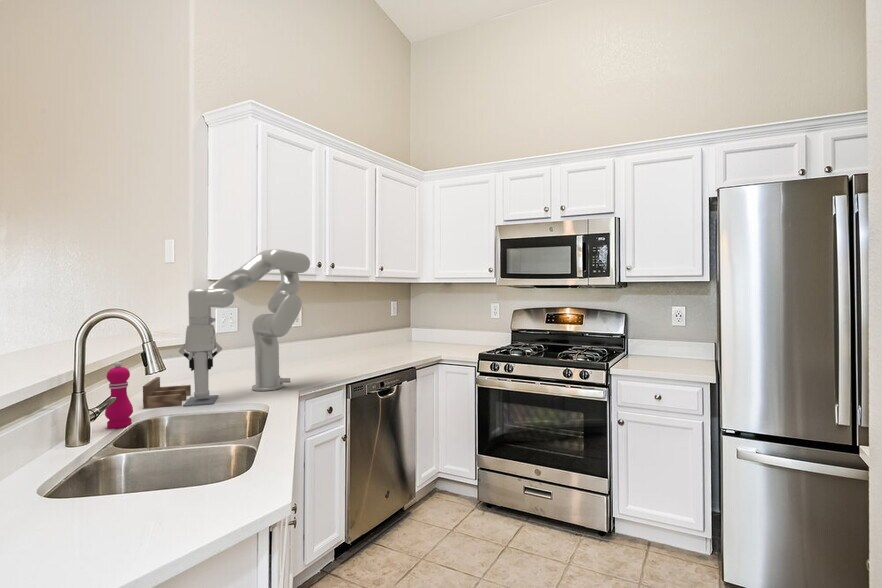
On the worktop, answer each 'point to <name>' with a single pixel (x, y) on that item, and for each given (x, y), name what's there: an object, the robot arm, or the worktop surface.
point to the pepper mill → (119, 398)
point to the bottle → (201, 374)
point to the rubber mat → (201, 401)
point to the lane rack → (164, 394)
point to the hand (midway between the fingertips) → (201, 369)
